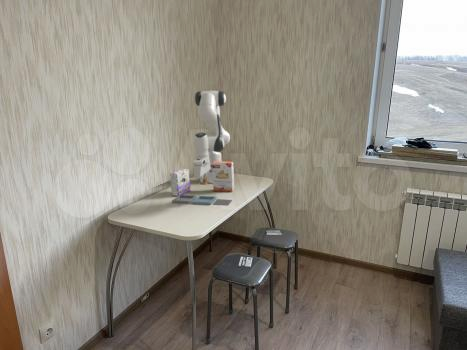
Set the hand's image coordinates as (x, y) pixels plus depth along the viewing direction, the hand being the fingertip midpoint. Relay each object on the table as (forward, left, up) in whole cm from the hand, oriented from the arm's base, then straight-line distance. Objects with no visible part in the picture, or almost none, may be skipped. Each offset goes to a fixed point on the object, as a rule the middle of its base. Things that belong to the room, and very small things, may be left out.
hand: (203, 180), depth 221 cm
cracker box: (-26, +5, -15) cm, 30 cm away
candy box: (-15, -23, -15) cm, 31 cm away
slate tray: (0, 0, -15) cm, 15 cm away
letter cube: (0, 0, -2) cm, 2 cm away
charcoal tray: (0, -14, -15) cm, 20 cm away
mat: (0, +12, -15) cm, 19 cm away
